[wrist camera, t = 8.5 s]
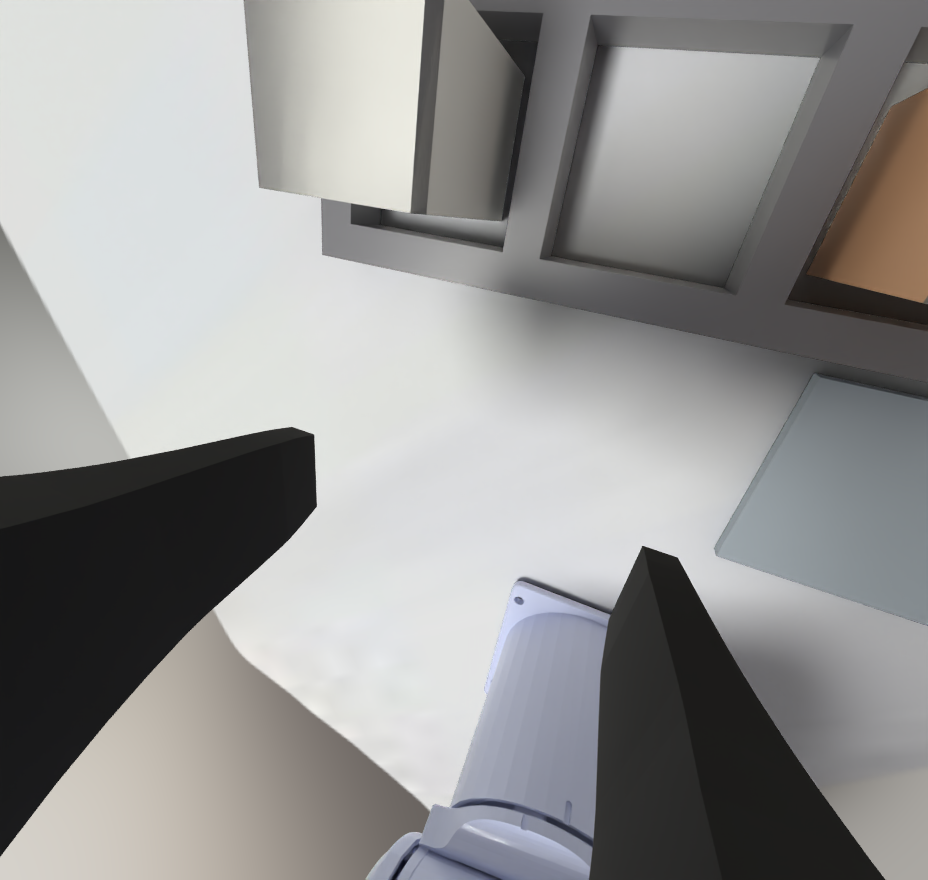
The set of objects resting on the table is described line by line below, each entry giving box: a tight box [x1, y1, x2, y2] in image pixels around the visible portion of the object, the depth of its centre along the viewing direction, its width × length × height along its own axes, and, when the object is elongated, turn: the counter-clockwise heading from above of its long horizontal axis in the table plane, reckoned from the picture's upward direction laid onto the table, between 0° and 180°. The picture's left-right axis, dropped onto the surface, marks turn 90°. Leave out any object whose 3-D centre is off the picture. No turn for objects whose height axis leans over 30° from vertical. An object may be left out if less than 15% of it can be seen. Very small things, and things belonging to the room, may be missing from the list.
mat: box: [714, 373, 928, 626], centre depth 14 cm, size 8×8×1 cm
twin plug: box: [244, 0, 525, 221], centre depth 11 cm, size 4×4×7 cm
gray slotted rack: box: [321, 0, 928, 383], centre depth 12 cm, size 8×22×2 cm, turn 82°
